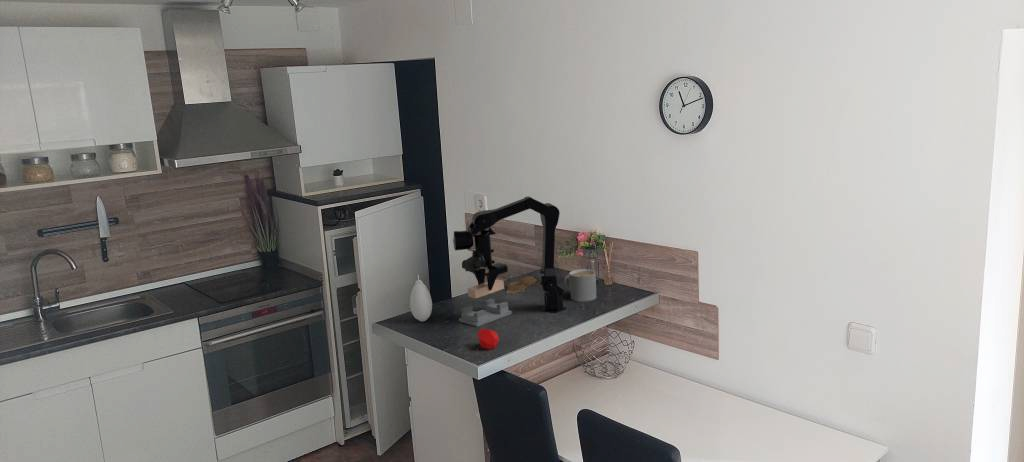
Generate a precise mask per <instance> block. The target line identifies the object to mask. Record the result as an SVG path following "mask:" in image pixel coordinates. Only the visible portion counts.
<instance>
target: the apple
mask: <svg viewBox="0 0 1024 462" xmlns="http://www.w3.org/2000/svg"><path fill="white" fill-rule="evenodd" d="M477 339H478V341H479V344H480V347H481V348H482V349H485V350H492V349H495V348H497V346H498V345H499V344H498V343H499V342H500V340H499V335H498V333H497V332H495V331H493V330H491V329H487V328H484V327H483V328H480V331H479V332H477Z"/></svg>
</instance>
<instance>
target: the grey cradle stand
mask: <svg viewBox="0 0 1024 462" xmlns="http://www.w3.org/2000/svg"><path fill="white" fill-rule="evenodd" d="M495 301H496V299H495V298H491V297H490V298H489V299H486V300H483V309H481V310H478V311H475V310H473V308H474V307H473V306H471V305H469V306H465V307H463V308H461V309H460V311H461V317H460V318H458V322H461V323H463V324H466V325H470V326H474V327H478V328H479V327H480V326H483V325H486V324H488V323H491V322H493V321H496V320H498V319H502V318H504V317H506V316H509V315H512V314H513V311H512V310H509V302H507V301H502V302H499V303H497V302H495Z"/></svg>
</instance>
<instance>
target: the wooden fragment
mask: <svg viewBox="0 0 1024 462" xmlns="http://www.w3.org/2000/svg"><path fill="white" fill-rule="evenodd" d="M536 279H537V278H535V277H534V276H533V277H529V276H527V277H524V278H521V279H518V280H514V281H512V282H510V283H507V284H506V295H508V294H509V295H510V293H513V294H518V293H517V292H520V293H524V292H525V291H526V289H528V287H531V286H533V285H535V284H536V283H538V282H537V281H536Z"/></svg>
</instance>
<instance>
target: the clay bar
mask: <svg viewBox="0 0 1024 462" xmlns="http://www.w3.org/2000/svg"><path fill="white" fill-rule="evenodd" d="M504 286H505V283H504V280H502V279H497V278H496V280H495V283H494V285H493V288H492V290H489V289H488V282H487V281H486V282H484V283H483V284H480V285H479V284H478V285H475V286H471V287H468V288H467V296H468V297H469V298H473V299H478V298H482V297H483V296H487V295H489V294H492V293H495V292H499V291H501V290H504V289H505V287H504Z"/></svg>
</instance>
